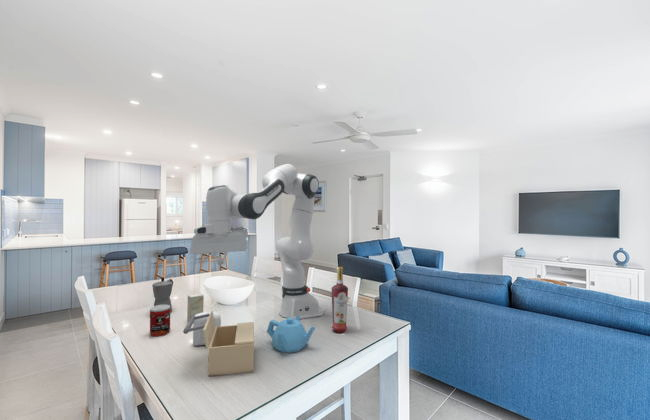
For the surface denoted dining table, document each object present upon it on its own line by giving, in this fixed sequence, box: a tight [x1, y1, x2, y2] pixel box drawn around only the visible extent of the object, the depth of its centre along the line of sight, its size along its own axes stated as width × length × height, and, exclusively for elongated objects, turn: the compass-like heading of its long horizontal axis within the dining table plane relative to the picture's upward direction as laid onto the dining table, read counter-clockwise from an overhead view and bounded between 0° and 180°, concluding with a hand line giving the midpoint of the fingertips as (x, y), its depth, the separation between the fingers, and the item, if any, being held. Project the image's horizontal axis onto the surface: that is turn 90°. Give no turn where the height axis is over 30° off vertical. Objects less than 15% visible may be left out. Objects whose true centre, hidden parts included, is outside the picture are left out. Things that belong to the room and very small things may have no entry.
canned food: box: [149, 305, 171, 337], centre depth 129 cm, size 8×8×11 cm
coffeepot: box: [151, 277, 174, 314], centre depth 154 cm, size 15×9×18 cm, turn 176°
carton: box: [208, 321, 255, 377], centre depth 106 cm, size 14×18×10 cm
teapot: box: [266, 316, 316, 354], centre depth 118 cm, size 15×15×11 cm
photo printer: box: [192, 311, 222, 347], centre depth 119 cm, size 10×4×12 cm, turn 103°
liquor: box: [331, 266, 349, 334], centre depth 133 cm, size 7×7×28 cm
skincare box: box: [186, 292, 205, 323], centre depth 143 cm, size 6×4×12 cm
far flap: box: [182, 311, 215, 349], centre depth 103 cm, size 7×17×7 cm
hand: (220, 263), depth 115 cm, fingers closed
